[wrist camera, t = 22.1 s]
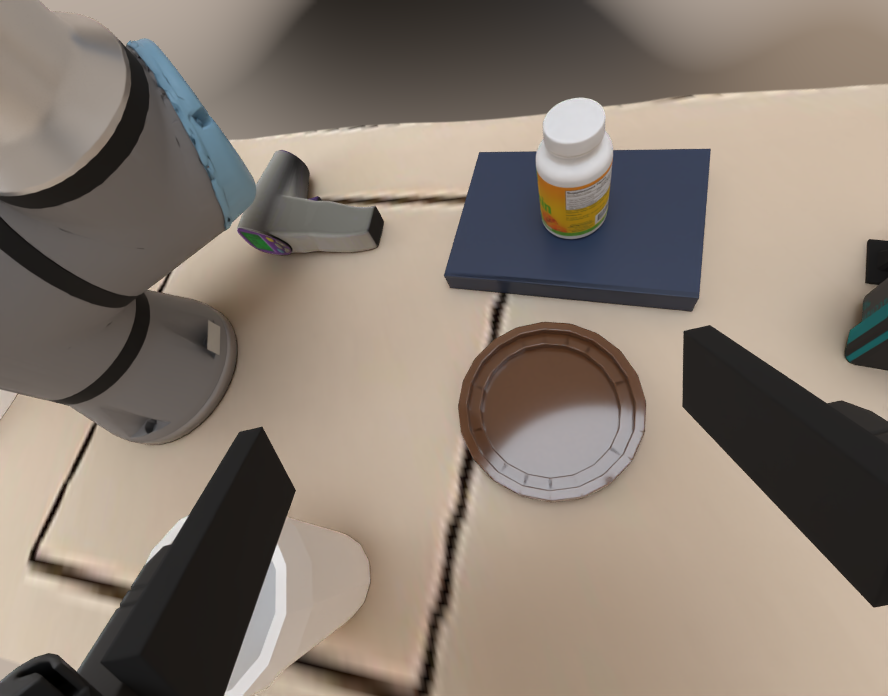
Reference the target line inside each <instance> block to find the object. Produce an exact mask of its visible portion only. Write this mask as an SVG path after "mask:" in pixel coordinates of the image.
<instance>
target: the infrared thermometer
mask: <svg viewBox="0 0 888 696" xmlns="http://www.w3.org/2000/svg"><path fill="white" fill-rule="evenodd" d="M308 184H309V170H308V168H307V166H306V165H305V163H304V162H303V161H302V160H300V159H299V158H298V157H297V156H295V155H293V154H292V153H290V152H287V151H284V150H279V151H276V152H275V153H274V155H273V157H272V159H271V160H270V162H269V164H268V166H267V167H266V169H265V171H264V172H263V174H262V176H261V177H260V179H259V181H258V182H257V184H256V196H255V199H254V201H253V203H252V204H251V205H250V206H249V207H248V208H247V209H246V210H245V211H244V212H243V215H242V217H241V220H240V222H239V225H238V227H237V229H238V230H237V231H238V233H239V234H240V236H241V237H242V238H243V239H244V240H245V241H247V242H248V243H249V244H250V245H251V246H253V247H254V248H256V249H258V250H260V251H263V252H266V253H270V254H276V255H289V254H291V253H293V252H312V251H328V252H356V251H364V250H369V249H373V248H376V247H378V245H379V241H380V238H381V234H382V229H383V225H384V221H383V219H382V217H381V215H380V213H379V211H378V209H377V207H376V206H371V207H354V206H349V205H344V204H340V203H336V202H331V201H322V200H321V199H320V197H318V196H317V197H314V198H311V199H307V194H308Z"/></svg>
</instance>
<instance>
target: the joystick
mask: <svg viewBox="0 0 888 696" xmlns="http://www.w3.org/2000/svg"><path fill="white" fill-rule="evenodd" d="M17 394H18V393H13V392H9V391H5V390H0V419H1V417H2V416H3V415H4V413H5V412H6V411H7V409H8V408H9V406H10V405H11V403H12V402H13V400H14V399H15V397H16V395H17Z"/></svg>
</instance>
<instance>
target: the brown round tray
mask: <svg viewBox="0 0 888 696" xmlns="http://www.w3.org/2000/svg"><path fill="white" fill-rule="evenodd" d="M458 410H459V418H460V427H461V433H462V436H463V438H464V440H465V442H466V444H467V447H468V449H469V451H470V453H471V455H472V457H473V458H474V460H475V461H476V462H477V463H478V464H479V466H480V467H481V468H482V469H483V470H484V471H485V472H486V473H487V474H488V475H489V476H490V477H491V479H493V480H494V481H495V482H497V483H499V484H501V485H502V486H504V487H506V488H508V489H509V490H511V491H513V492H515V493H517V494H518V495H520V496H523V497H527V498H532V499H537V500H542V501H547V502H559V501H567V500H575V499H581V498H584V497H586V496H588V495H590V494H592V493H594V492H596V491H599V490H601V489H603V488H605V487H607V486H609V485H610V484H611V483H612V482H613V481H614V480H615V479H616V478H617V477H618V476H619V475H620V473H621V472H622V471H623V470H624V469H625V468H626V467H627V466H628V465H629V464H630V463H631V462H632V460H633V458H634V456H635V454H636V451H637V449H638V447H639V444H640V442H641V440H642V437H643V435H644V432H645V414H646V400H645V397H644V394H643V390H642V387H641V384H640V381H639V377H638V375H637V373H636V372H635V370H634V369H633V367H632V366H631V365H630V363H629V362H628V360H627V359H626V358H625V356H624V355H623V353H622V352H621V351H620V350H619V349H618V348H616V347H615V346H614V345H612V344H611V343H610V342H608V341H607V340H606V339H604V338H603V337H602V336H600V335H599V334H597V333H595V332H592V331H589V330H587V329H584V328H581V327H578V326H576V325H573V324H567V323H552V322H541V323H536V324H531V325H526V326H522V327H518V328H515V329H513V330H511V331H509V332H507V333H506V334H504V335H502V336H500V337H498V338H496V339H494V340H493V341H492V342H491V343H490V344H489V345H488V346H487V347H486V348H485V349H484V350H483V351H482V352H481V353H480V354H479V355H478V356H477V357H476V358H475V360H474V361H473V363H472V365H471V367H470V369H469V371H468V372H467V374H466V376H465V378H464V380H463V384H462V389H461V394H460V399H459V404H458Z"/></svg>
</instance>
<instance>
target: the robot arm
mask: <svg viewBox="0 0 888 696" xmlns="http://www.w3.org/2000/svg"><path fill="white" fill-rule="evenodd" d="M255 196H256V184H255V182H254V179H253V177H252V175H251V174H250V172H249V170H248V169H247V167H246V165H245V164H244V162H243V161H242V159H241V158H240V156H239V155H238V153H237V152H236V151H235V149H234V148H233V146H232V145H231V143H230V142H229V141H228V139H227V138H226V136H225V135H224V134H223V133H222V131H221V129H220V128H219V127H218V125H217V124H216V123H215V121H214V120H213V119H212V118H211V117H210V116H209V114H208V112H207V110H206V109H205V108H204V106H203V105H202V104H201V102H200V101H199V99H198V98H197V96H196V95H195V93H194V92H193V91H192V89H191V88H190V87H189V85H188V84H187V83H186V81H184V79H183V77H182V76H181V75H180V73H179V72H178V71H177V69H176V68H175V67H174V66H173V64H172V63H171V62H170V60H169V59H168V58H167V57H166V55H165V54H164V53H163V52H162V51H161V49H160V48H159V47H158V46H157V45H156V44H155V43H154V42H153V41H151V40H149V39H140V40H138V41H132V42H131V41H129V42H128V43H127V45H126V47H125V46H124V45H123V44H122V43H121V41H120V40H118V39H117V37H116V36H115V35H114V34H113V33H112V32H111V31H110V30H109V29H108V28H106V27H105V26H103V25H102V24H101V23H99V22H98V21H96V20H94V19H93V18H90V17H87V16H84V15H80V14H74V13H68V12H57V11H50V10H49V9H48V8H47V7H46V6H45V5H44V4H43V3H42V2H41V1H40V0H0V390H5V391H9V392H13V393H18V394H22V395H26V396H31V397H35V398H39V399H44V400H48V401H52V402H56V403H60V404H64V405H68V406H70V407H72V408H73V409H75V410H76V411H78V412H79V413H81V414H83V415H84V416H86V417H87V418H89V419H90V420H92V421H93V422H95V423H97V424H98V425H100V426H101V427H103V428H104V429H106V430H107V431H109V432H110V433H112V434H114V435H116V436H118V437H120V438H123V439H125V440H128V441H132V442H137V443H142V444H147V445H157V444H164V443H168V442H171V441H174V440H176V439H178V438H180V437H182V436H184V435H186V434H187V433H189V432H191V431H192V430H193V429H195V428H196V427H197V426H198V425H200V424H201V423H202V422H203V421H204V420H205V419H206V418H207V417H208V416H209V415H210V414H211V412H212V411H213V410H214V409H215V407H216V406H217V405H218V403H219V402H220V400H221V399H222V397H223V396H224V394H225V392H226V390H227V388H228V386H229V383H230V381H231V378H232V376H233V372H234V369H235V364H236V357H237V343H236V337H235V333H234V330H233V328H232V326H231V324H230V322H229V321H228V320H227V318H226V317H225V316H224V315H223V314H221V313H220V312H218V311H217V310H215V309H213V308H212V307H210V306H209V305H207V304H204V303H202V302H199V301H196V300H193V299H189V298H184V297H179V296H174V295H169V294H165V293H160V292H155V291H150V290H148V289H149V288H150V287H151V286H153V285H154V284H155V283H157V282H158V281H159V280H161V279H162V278H163V277H165V276H166V275H167V274H168V273H170V272H171V271H172V270H174V269H175V268H176V267H178V266H179V265H180V264H181V263H183V262H184V261H185V260H187V259H188V258H189V257H191V256H192V255H193V254H195V253H196V252H197V251H198V250H200V249H201V248H202V247H204V246H205V245H206V244H208V243H209V242H210V241H211V240H213V239H214V238H215V237H217V236H218V235H219V234H221V233H222V232H223V231H226V230H227V229H229V228H230V226H231V223H232V222H233V221H234V220H235V219H236V218H237V217H239V216H240V215H241V214H242V213H243V212H244V211H245V210H246V209H247V208H248V207H249V206H250V205H251V204H252V203H253V201H254V199H255ZM682 407H683V408H684V409H685V410H686V411H687V412H688V413H689V414H690V415H691V416H692V417H693V418H694V419H695V420H696V421H697V422H698V423H699V425H700V426H701V427H702V428H703V429H704V430H705V431H706V432H707V433H708V434H709V435H710V436H711V437H712V438H713V439H714V440H715V441H716V442H717V443H718V444H719V446H720V447H721V448H722V449H723V450H724V451H725V452H726V453H727V454H728V455H729V456H730V457H731V458H732V459H733V460H734V461H735V462H736V463H737V464H738V465H739V467H740V468H741V469H742V470H743V471H744V472H745V473H746V474H747V475H748V476H749V477H750V478H751V479H752V480H753V481H754V482H755V483H756V484H757V485H758V487H759V488H760V489H761V490H762V491H763V492H764V493H765V494H766V495H767V496H768V497H769V498H770V499H771V500H772V501H773V502H774V503H775V504H776V505H777V506H778V508H779V509H780V510H781V511H782V512H783V513H784V514H785V515H786V516H787V517H788V518H789V519H790V520H791V521H792V522H793V523H794V524H795V525H796V526H797V527H798V529H799V530H800V531H801V532H802V533H803V534H804V535H805V536H806V537H807V538H808V539H809V540H810V541H811V542H812V543H813V544H814V545H815V546H816V547H817V549H818V550H819V551H820V552H821V553H822V554H823V555H824V556H825V557H826V558H827V559H828V560H829V561H830V562H831V563H832V564H833V565H834V566H835V567H836V568H837V570H838V571H839V572H840V573H841V574H842V575H843V576H844V577H845V578H846V579H847V580H848V581H849V582H850V583H851V584H852V585H853V586H854V587H855V588H856V590H857V591H858V592H859V593H860V594H861V595H862V596H863V597H864V598H865V599H866V600H867V601H868V602H869V603H870V604H871V605H872V606H873V607H879V606H885V605H888V421H886V420H885V419H883V418H881V417H880V416H878V415H877V414H875V413H873V412H872V411H869V410H866V409H864V408H861V407H858V406H855V405H853V404H850V403H847V402H844V401H842V400H841V401H837V402H832V403H825V402H824V401H822V400H821V399H819V398H818V397H816V396H815V395H813V394H812V393H811V392H809V391H808V390H806V389H805V388H803V387H802V386H800V385H799V384H797V383H796V382H794V381H793V380H791V379H790V378H788V377H787V376H785V375H784V374H782V373H781V372H779V371H778V370H776V369H775V368H773V367H772V366H770V365H769V364H767V363H766V362H764V361H763V360H761V359H760V358H758V357H757V356H755V355H754V354H752V353H751V352H749V351H748V350H746V349H745V348H743V347H742V346H740V345H739V344H737V343H736V342H734V341H733V340H731V339H730V338H728V337H727V336H725V335H724V334H722V333H721V332H719V331H718V330H716V329H715V328H713V327H712V326H710V325H709V326H704V327H700V328H695V329H691V330H687V331H684V344H683V405H682ZM295 491H296V490H295V488H294V486H293V484H292V482H291V480H290V478H289V477H288V475H287V473H286V471H285V469H284V467H283V465H282V463H281V461H280V459H279V458H278V456H277V454H276V452H275V450H274V448H273V446H272V444H271V442H270V440H269V439H268V437H267V435H266V433H265V431H264V429H263V427H259V428H255V429H251V430H246V431H242V432H239V433H238V435H237V437H236V438H235V440H234V442H233V443H232V445H231V447H230V448H229V450H228V452H227V453H226V455H225V456H224V458H223V460H222V461H221V463H220V465H219V466H218V468H217V470H216V471H215V473H214V475H213V476H212V478H211V480H210V481H209V483H208V485H207V486H206V488H205V490H204V491H203V493H202V494H201V496H200V498H199V499H198V501H197V503H196V504H195V506H194V508H193V509H192V511H191V513H190V514H189V516H188V518H187V519H186V521H185V523H184V524H183V526H182V528H181V529H180V531H179V532H178V534H177V536H176V537H175V539H174V541H173V542H172V544H171V545H166V546H163V547H162V548H161V549H160V550H159V551H158V552H157V553H156V554H155V555H154V556H153V557H152V558H151V559H150V560H149V561H148V562H147V563H146V565H145V566H144V567H143V569H142V570H141V572H140V573H139V575H138V576H137V578H136V580H135V581H134V583H133V584H132V586H131V590H130V591H128V592H127V594H126V595H125V597H124V598H123V600H122V602H121V603H120V608H118V609H116V611H115V613H114V614H113V616H112V617H111V619H110V620H109V622H108V624H107V625H106V627H105V628H104V630H103V631H102V633H101V635H100V636H99V638H98V639H97V641H96V642H95V644H94V645H93V647H92V649H91V650H90V652H89V653H88V655H87V656H86V658H85V660H84V661H83V663H82V664H81V666H80V667H79V669H78V671H77V672H76V671H75V670H74V669H73V668H72V667H71V666H70V665H69V664H67V663H66V662H65V661H64V660H63V659H62V658H61V657H60V656H58V655H55V654H50V653H48V654H44V655H41V656H38V657H34V658H33V659H31V660H29V661H27V662H26V663H24V664H22V665H21V666H19V667H17V668H16V669H15V670H13V671H12V672H11V673H10V674H8V675H7V676H6V677H5V678H4V679H2V680H1V681H0V696H224V695H225V692H226V689H227V686H228V683H229V680H230V677H231V674H232V672H233V669H234V666H235V663H236V660H237V657H238V654H239V652H240V649H241V646H242V643H243V640H244V637H245V634H246V632H247V629H248V626H249V623H250V620H251V617H252V614H253V611H254V609H255V606H256V603H257V600H258V597H259V594H260V591H261V589H262V586H263V583H264V580H265V577H266V574H267V571H268V569H269V566H270V563H271V560H272V557H273V554H274V551H275V548H276V546H277V543H278V540H279V537H280V534H281V531H282V528H283V526H284V523H285V520H286V517H287V514H288V511H289V508H290V506H291V503H292V500H293V497H294V494H295Z"/></svg>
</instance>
